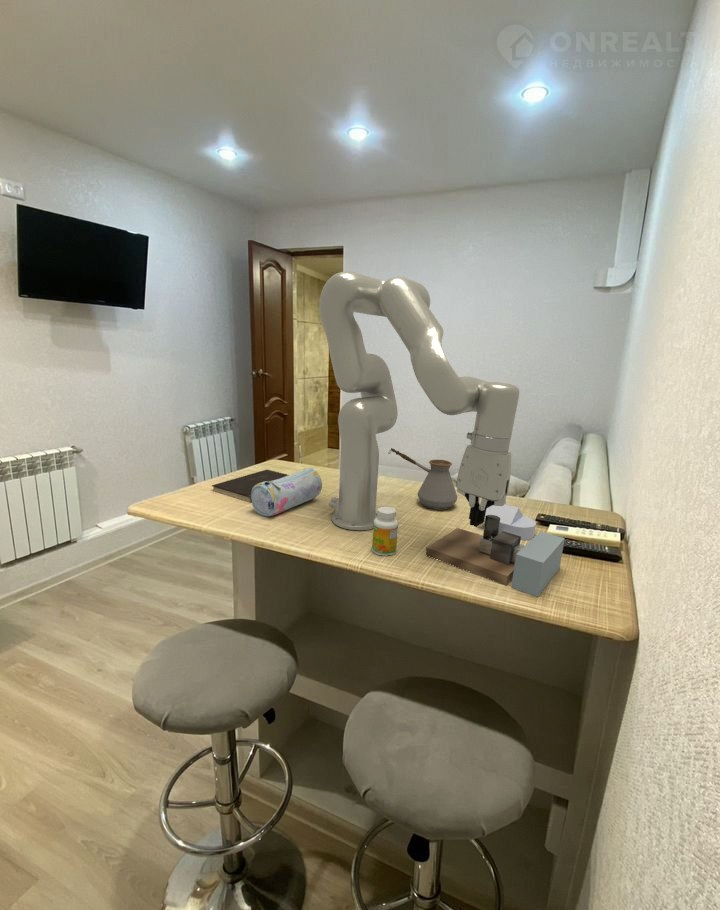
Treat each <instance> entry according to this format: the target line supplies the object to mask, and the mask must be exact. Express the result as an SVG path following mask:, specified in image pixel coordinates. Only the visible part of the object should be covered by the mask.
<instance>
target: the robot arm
mask: <svg viewBox="0 0 720 910" xmlns="http://www.w3.org/2000/svg"><path fill="white" fill-rule="evenodd" d="M318 305H319V306H318V307H319V317H320V320H321V323H322V327H323V330H324V333H325V337H326V341H327V346H328V347H327V348H328V352H329V356H330V360H331V365H332V369H333V374H334V375H333V376H334V378H335V383H336V385H337V387H338V388H339V389H340V390H341V391H342V392H345V393H347V394H348V393H349V394H356V393H357V394H358V393H360V396H361V397H356V398H353V399H350V400H348V401H346V402H345V404H344V405H342V406H341V408H340V410H339V412H338V418H337V419H338V420H337V424H338V431H339V438H340V461H339V462H340V463H339V465H340V467H339V488H338V489H339V490H338V497H336V496H334V497H332V498H331V500H330V501H329V502H328V506H329V507H331V508H334V509H335V510H334V512H333V513H332V515H331V520H332V523H333V525H335V526H337V527H339V528H341V529H345V530H351V531H367V530H373V524H374V519H375V518H376V517H378V516H377V510H376V508H377V494H378V479H379V463H380V462H379V461H380V449H379V445H378V441H377V440H378V439H377V436H376V435H377V434H381V433H385V432H388V431H389V430H391V429H392V428H393V427H394V426H395V424H396V422H397V420H398V411H399V410H398V406H397V400H396V396H395V395H396V394H395V389H394V385H393V380H392V375H391V371H390V368H389V367H388V364H387V363H386V361H385V360H384V359H383V358H382V357H381V356H379V355H377V354H375V353H367V351H366V350H367V349H366V348H365V343H364V338H363V337H364V336H363V333H362V331H361V328H360V326H359V324H358V322H357V320H356V319H355V316H354V313H357V314H363V315H367V316H368V315H369V316H370V315H371V316H377V317H385V318H387V320H388V322H389V323H390V325H391V326H392V328H393V329H394V330H395V332H396V334H398V337H399V338H400V340H401V342H403V344H404V346H405V347H406V349H407V351H408V353H409V358H410V362H411V366H412V369H413V373H414V375H415V378H416V380H417V382H418V384H419V385H420V387H421V388H422V390H423V392H424V393H425V395H426V396H427V398H428V399H429V401H430V403H431V404H433V406H434V407H435V408H436V409H437V410H438V411H439V412H441V414H443V415H446V416H457V415H461V414H466V413H473V412H475V413H476V416H475V421H474V426H473V431H472V432H467V433H466V437H465V438H466V439H468V440H470V444H468V445H466V447H465V450H464V453H463V455H462V458H461V463H460V465H459V469H458V473H457V477H456V485H455V487H456V493H458V494H460V495H461V496H464V497H465V498H466V500H467V502H468V506H469V507H470V509H469V510H470V511H469V514H468V520H469V525H470V526H473V527H475V528H477V527H479V526H481V525H482V524H483V523H485V514H486V509H487V508H488V507H490V506H492V505H494V506H504V505H505V504H506V505H507V499H506V497H507V495H508V494H509V493H508V492H509V489H510V481H511V476H512V475H511V473H512V454H511V452H510V451H509V449H510V446H511V445H510V444H511V438H512V434H513V430H514V429H513V428H514V424H515V419H516V414H517V408H518V404H519V398H520V389H519V388H518V386H517V385H514V384H511V383H506V382H505V383H504V382H497V381H487V380H483V379H479V378H477V377H473V376H459V375H458V374H457V372H456V371H455V370H454V368H453V367H452V365H451V364H450V362H449V360H448V359H447V357H446V355H445V352H444V350H443V346H442V340H443V337H444V329H443V327H442V325H441V324H440V322H439V321H438V319H437V318H436V317H435V314H433V312H432V310H431V309H430V307H431V297H430V294H429V290H427V288H426V287H425V286H424V285H423V284H421V283H420V282H418V281H415V280H412V279H408V278H406V277H401V276H396V277H391V278H389V279H387V280H384V279H378V278H375V277H371V276H369V275H368V276H367V275H365V274H361V273H358V272H353V271H340V272H337V273H335V274H333V275H332V276H331V277H329V278H328V280H327V281H326V282H325V283H324V285H323V288H322V289H321V293H320V296H319V303H318ZM480 499H481V501H480Z"/></svg>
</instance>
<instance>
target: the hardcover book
mask: <svg viewBox="0 0 720 910" xmlns="http://www.w3.org/2000/svg"><path fill="white" fill-rule="evenodd" d="M288 475H289V474H287V473H282V472H279V471H275V470H270V469H264V470H260V471H257V472H254V473H253V472H252V473H249V474H247V475H243V476H239V477H236V478H233V479H228V480H225V481H223V482H218V483H215V484H212V485H211V487H213V488H212V490H213V492H216V493H219V494H222V495H225V496H229V497H232V498H235V499H238V500H241V501H245V502H247V503H250V504H252V499H251V492H252V488H253V487H254V486H255V485H256V484H259V483H262V482H265V481H267V482H269V481H273V480H276V479H280V478H283V477H286V476H288Z"/></svg>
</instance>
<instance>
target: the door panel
mask: <svg viewBox="0 0 720 910" xmlns="http://www.w3.org/2000/svg"><path fill="white" fill-rule="evenodd" d="M481 537H483V534H482V535H481V534H479V533H475V532H472V531H468V530H466V529H462V528H460V527H456V528H454V530H452V531H450V532H448V533H447V534H445V535H444V536H441V537H440V538H439V539H437V540H436V541H434V542H433V543H431V544H430V545H428V546H427V547H426V549H425V556H426V555H427V556H426V557H428V556H430V557H433V558H435V559H434V560H436V559H438V560H441V561H443V562H442V563H444V562H445V563H444V564H447V563H448V564H447V565H449V564H451V565H450V566H452V565H454V566H453V567H455V566H456V567H455V568H457V567H459V568H458V569H460V568H461V569H460V570H463V569H464V570H463V571H466V570H467V571H466V572H468V571H470V572H469V573H471V572H472V574H474V573H475V574H474V575H476V574H478V575H477V576H479V575H480V577H482V576H483V578H485V579H487V578H489V579H488V580H490V579H491V580H490V581H493V580H494V581H493V582H495V581H496V582H495V583H498V584H501V585H503V586H507V585H508V584H510V582H512V579H513V572H514V565H515V563H514V562H511V556H512V549H513V547H514V546H515V545H516V544H517V543H518V544H521V541H522V540H521V536H518V535H514V534H511V533H507V532H504V531H502V532H501V533H498V535H497V536H496V537H494V538H493V539H492V547H491V554H487V553H484V552H481V551H479V548H480V540H481ZM430 557H429V558H430ZM433 558H432V559H433ZM438 560H437V561H438ZM441 561H440V562H441Z"/></svg>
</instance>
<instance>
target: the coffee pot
mask: <svg viewBox="0 0 720 910" xmlns="http://www.w3.org/2000/svg"><path fill="white" fill-rule="evenodd" d="M391 453H394V454H396V455H398V456H399V457H401V459H404V460H406V461H407V462H409V463H411V464H413V465H416V466H417V467H418V468H420V469H422V470H424V471H425V472H427V475H426V477H425V479H424V481H423V482H422V483H421V486H420V488H419V490H418V491H417V497H418V500H419V501H420V503H422V504H423V506H424V507H426V508H429V509H432V510H440V511H441V510H447V509H449V508H450V507H451V506H454V504H455V503H456V502H457V500H458V494H457V490H456V489H455V484H454V483H453V479H452V476H451V472H450V467H451V466H452V465H453V463H452V462H451V461H448V460H445V459H432V460H431V459H430V460H429V462H428V463H429V464H430V465H429V466H430V469H429V468H428V467H426V466H424V465H422V464H421V463H419V462H417V461H416V460H414V459H413V458H411V457H409V456H408V455H406V454H404V453H402V452H400V451H399V450H395V449H394V448H392V447H391V448H390V449H389V451H388V454H387V455H390V454H391Z"/></svg>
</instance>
